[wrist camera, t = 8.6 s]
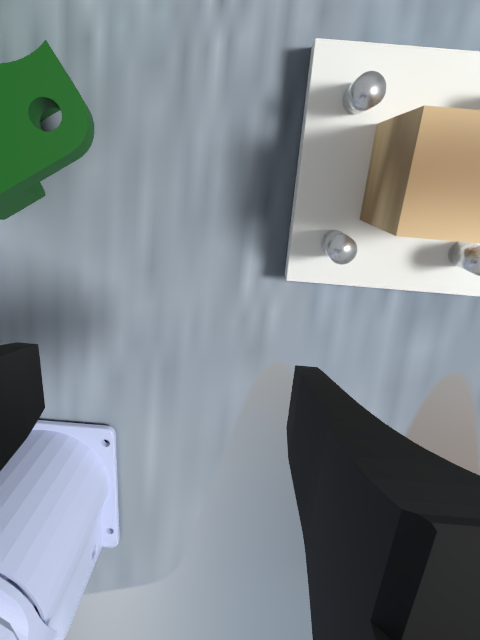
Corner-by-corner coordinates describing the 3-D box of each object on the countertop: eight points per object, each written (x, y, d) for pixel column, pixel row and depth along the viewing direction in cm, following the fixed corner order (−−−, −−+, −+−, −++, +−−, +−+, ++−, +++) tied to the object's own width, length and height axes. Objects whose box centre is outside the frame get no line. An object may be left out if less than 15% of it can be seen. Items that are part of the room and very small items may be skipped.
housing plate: (478, 290, 21) (516, 310, 18) (284, 274, 21) (290, 292, 18) (544, 65, 17) (606, 43, 14) (311, 46, 17) (324, 20, 14)
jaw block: (446, 227, 18) (512, 246, 14) (359, 219, 18) (396, 236, 14) (470, 131, 17) (553, 116, 12) (377, 123, 17) (424, 105, 12)
